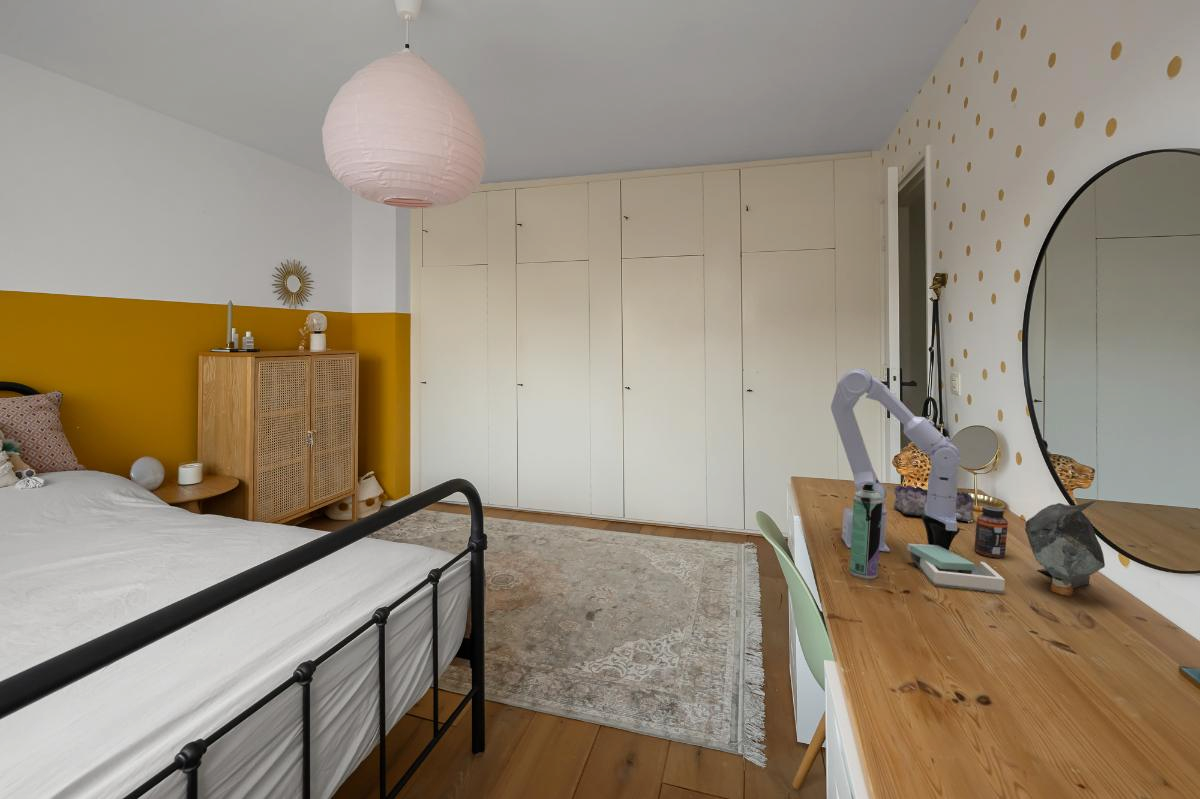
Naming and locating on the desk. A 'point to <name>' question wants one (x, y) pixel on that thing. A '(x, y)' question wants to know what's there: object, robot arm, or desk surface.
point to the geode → (916, 498)
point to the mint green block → (940, 558)
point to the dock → (964, 577)
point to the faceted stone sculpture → (1065, 546)
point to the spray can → (866, 533)
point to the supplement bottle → (991, 532)
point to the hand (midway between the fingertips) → (937, 550)
